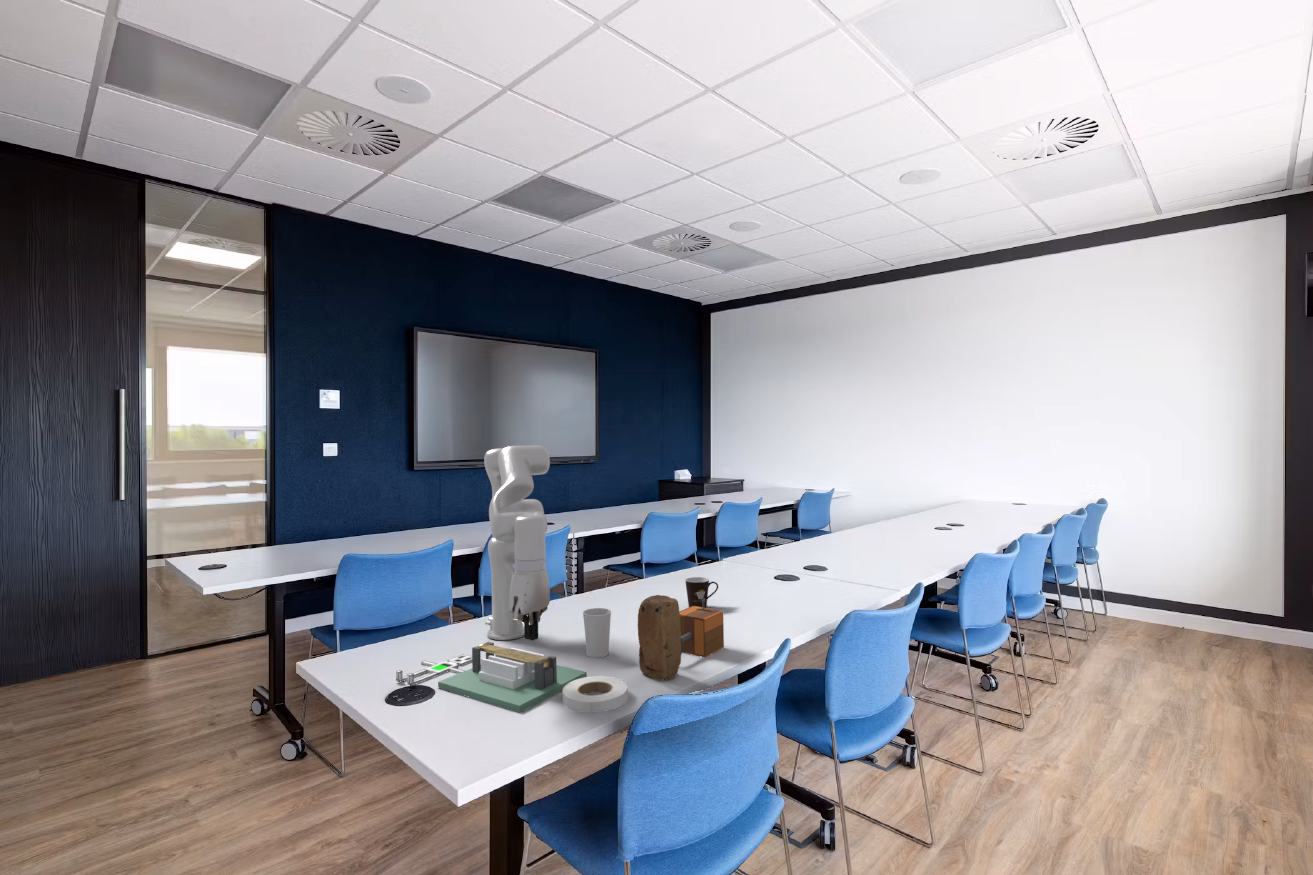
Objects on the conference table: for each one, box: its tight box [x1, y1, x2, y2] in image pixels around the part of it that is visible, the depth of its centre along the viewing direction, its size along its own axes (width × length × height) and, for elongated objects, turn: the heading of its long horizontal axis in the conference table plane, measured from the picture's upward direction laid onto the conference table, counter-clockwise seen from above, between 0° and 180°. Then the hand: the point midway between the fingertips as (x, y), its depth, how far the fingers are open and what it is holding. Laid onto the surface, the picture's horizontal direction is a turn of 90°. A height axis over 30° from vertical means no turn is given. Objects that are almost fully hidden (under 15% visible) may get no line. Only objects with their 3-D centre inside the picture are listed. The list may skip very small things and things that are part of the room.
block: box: [637, 594, 682, 681], centre depth 165 cm, size 11×8×20 cm
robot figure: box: [395, 653, 472, 687], centre depth 171 cm, size 16×3×22 cm
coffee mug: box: [684, 576, 719, 608], centre depth 230 cm, size 12×9×10 cm
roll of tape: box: [562, 675, 629, 713], centre depth 151 cm, size 16×15×3 cm
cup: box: [582, 607, 612, 659], centre depth 182 cm, size 8×8×12 cm
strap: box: [476, 642, 550, 667], centre depth 162 cm, size 23×3×2 cm, turn 57°
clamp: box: [679, 598, 725, 658], centre depth 180 cm, size 11×20×14 cm, turn 144°
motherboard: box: [437, 641, 588, 713], centre depth 161 cm, size 28×24×8 cm
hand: (531, 638), depth 158 cm, fingers closed
